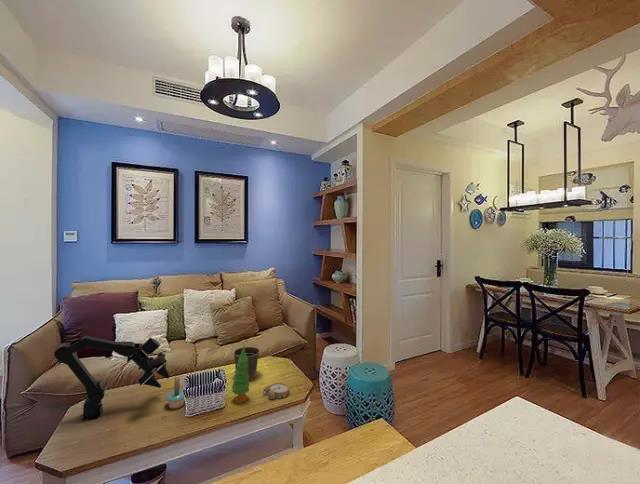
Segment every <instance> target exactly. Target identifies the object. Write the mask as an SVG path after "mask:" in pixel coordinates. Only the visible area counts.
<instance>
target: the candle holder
mask: <svg viewBox="0 0 640 484" xmlns="http://www.w3.org/2000/svg"><path fill="white" fill-rule="evenodd" d="M268 391H269V392H268ZM289 393H291V391H290V386H289V385H287V384H286V383H282V382H275V383H272V384H270V385H269V384H268V385H265V388H264V389H263V390H262V394H263V396H266V397H268V398H269V399H270V400H274V399H281V398H280V397H284V396H286V395H287V394H288V395H289ZM288 395H287V396H288ZM287 396H286V397H287ZM284 398H285V397H284Z"/></svg>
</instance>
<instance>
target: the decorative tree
mask: <svg viewBox="0 0 640 484" xmlns="http://www.w3.org/2000/svg"><path fill="white" fill-rule="evenodd" d="M242 347H243V349H242V352H241V355H240V357H239V359H238V363H237V365H236V366H237V368H236V367H235V370H234V373H235V374H234V376H233V378H232V381H233V384H232V385H231V389H232V390H231V392H232V393H234V395H237V397H236V398H235V399H234V401H235V402H236V403H238V404H239V402H240V403H244V402H245V401H247V393H248V392H249V391H250V380H248V369H247V368H248V362H247V361H248V358H247V355H246V352H245V347H246V346H242ZM243 401H244V402H243Z"/></svg>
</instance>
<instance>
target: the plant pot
mask: <svg viewBox="0 0 640 484" xmlns="http://www.w3.org/2000/svg"><path fill="white" fill-rule="evenodd" d="M243 347H245V352H246V355H247V358H248V361H247V362H248V368H247V369H248V381H252V380H255V379H256V377H257V369H258V361H259V356H260V353H261V351H260V350H261V349H259V348H258V347H255V346H242V347H240V348H236V349H234V351H233V353H232V354H233V357H234V358H233V359H234V363H235V364H234V365H235V369H236V368H237V366H236V365H237V363H238V359H239V357H240V355H241V352H242V349H243Z"/></svg>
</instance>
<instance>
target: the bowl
mask: <svg viewBox="0 0 640 484" xmlns="http://www.w3.org/2000/svg"><path fill="white" fill-rule="evenodd" d="M183 405H185V401H184V399H182V400H179V401H175V402H170V401H168V406H169V408H170V409H174V410H175V409H179V408H182V406H183Z"/></svg>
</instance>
